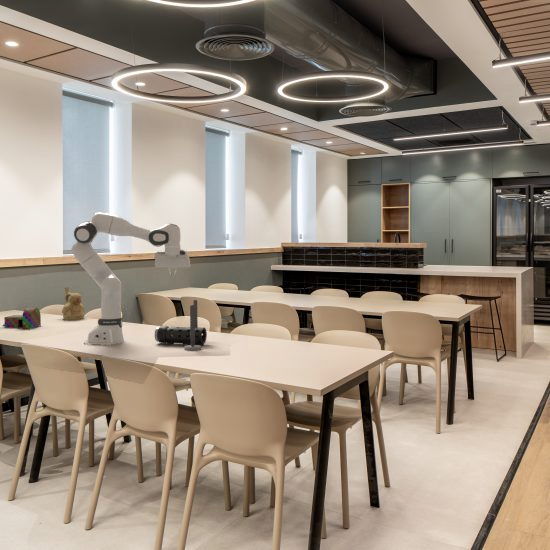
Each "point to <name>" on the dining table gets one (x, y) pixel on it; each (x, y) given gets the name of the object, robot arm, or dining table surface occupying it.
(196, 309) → the far cord post
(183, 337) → the muzzle brake
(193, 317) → the post
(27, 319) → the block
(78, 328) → the dining table surface
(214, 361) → the dining table surface
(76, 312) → the tan eared figurine
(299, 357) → the dining table surface
